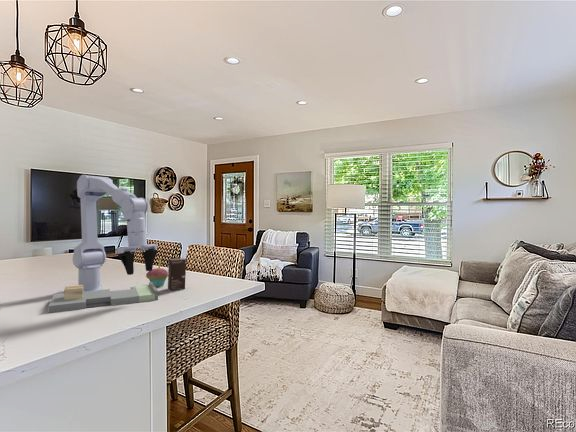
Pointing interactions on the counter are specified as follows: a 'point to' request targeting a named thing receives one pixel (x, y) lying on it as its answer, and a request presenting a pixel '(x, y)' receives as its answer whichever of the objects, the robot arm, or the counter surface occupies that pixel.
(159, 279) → the cupcake
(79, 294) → the block
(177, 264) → the box
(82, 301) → the track
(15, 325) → the counter surface
